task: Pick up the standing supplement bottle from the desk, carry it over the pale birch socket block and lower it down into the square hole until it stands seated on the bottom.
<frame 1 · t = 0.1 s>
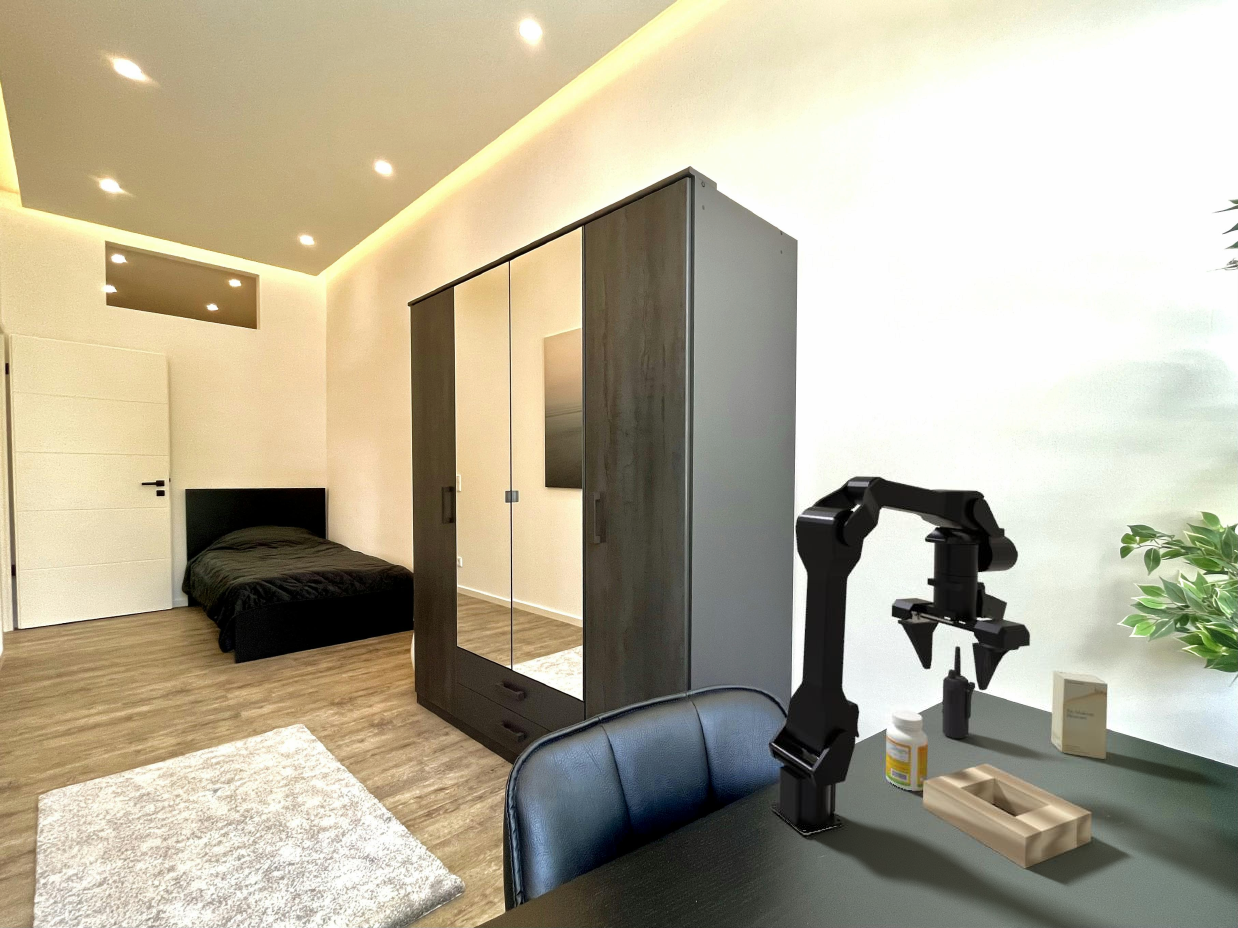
hand: (953, 678, 86), 14 cm above the table, tool pointing down, fingers open, 9 cm apart
two-way radio: (959, 736, 100), on the table
socket block: (1003, 823, 74), on the table
supplement bottle: (905, 783, 84), on the table
skincare box: (1078, 751, 96), on the table
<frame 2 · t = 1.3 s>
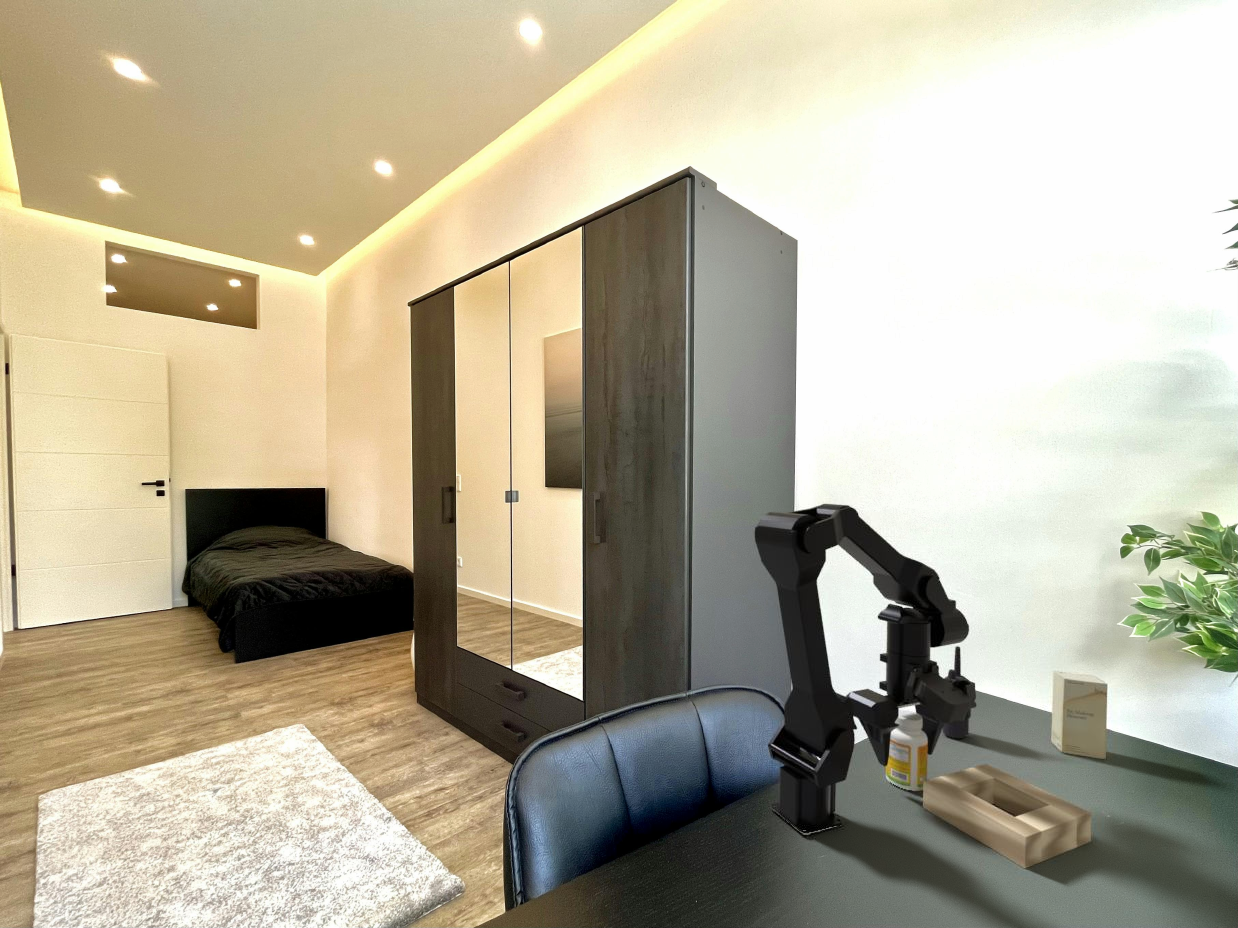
hand: (906, 759, 84), 3 cm above the table, tool pointing down, fingers open, 9 cm apart
nothing on the table moved.
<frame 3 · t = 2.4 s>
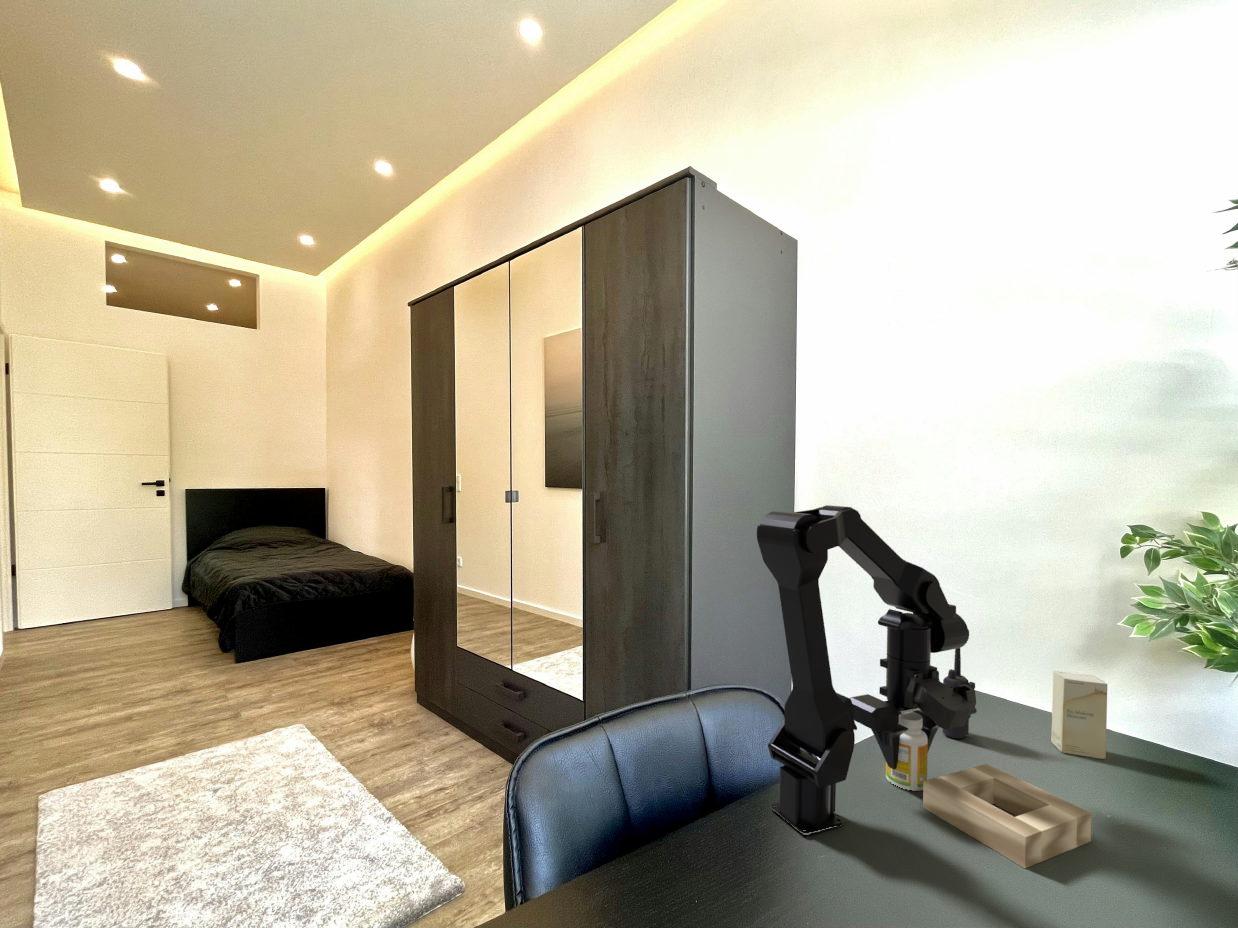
hand: (906, 764, 84), 3 cm above the table, tool pointing down, fingers closed on supplement bottle, 5 cm apart
supplement bottle: (905, 783, 84), on the table, touching gripper
everything else where it was.
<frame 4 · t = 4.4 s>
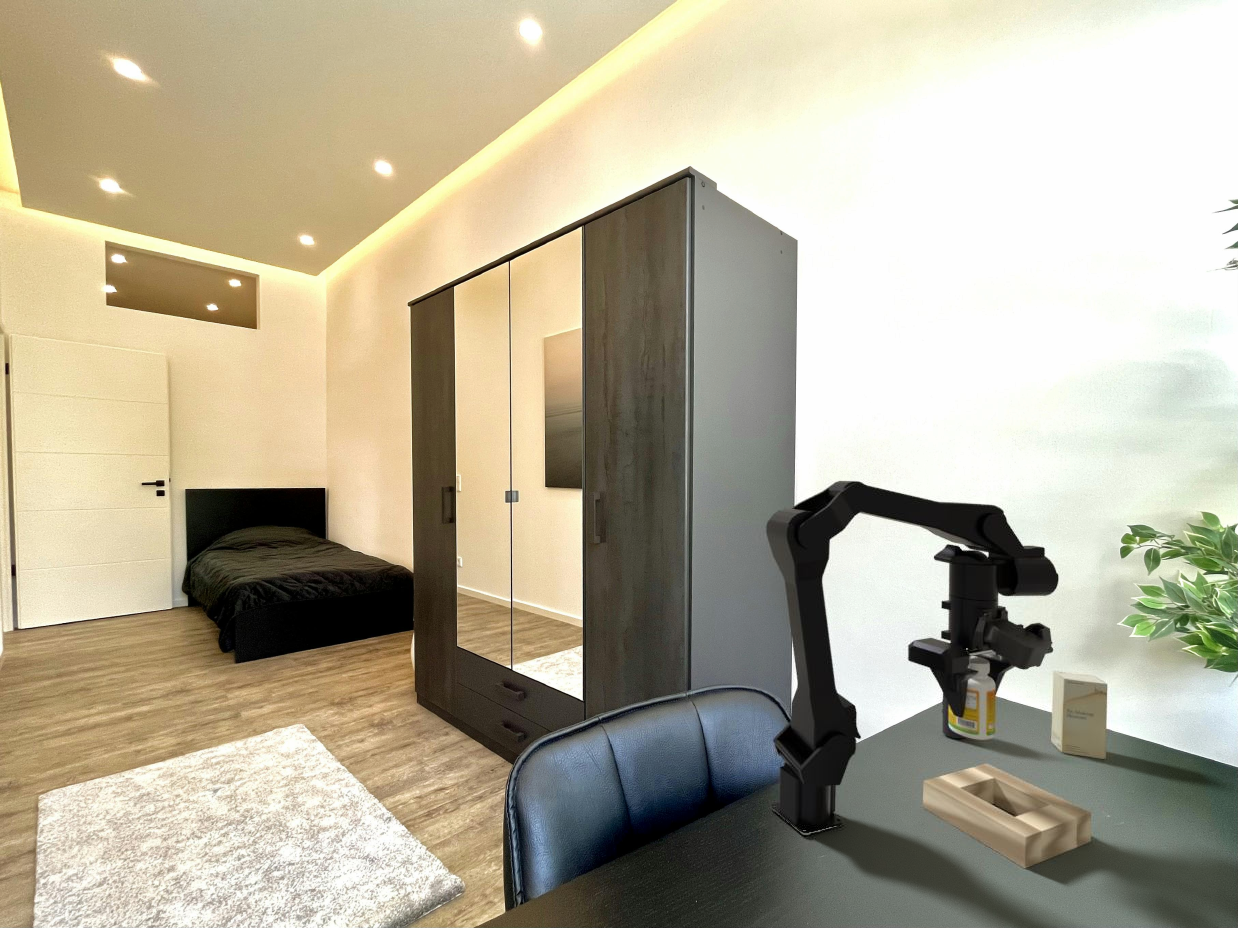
hand: (972, 712, 78), 13 cm above the table, tool pointing down, fingers closed on supplement bottle, 5 cm apart
supplement bottle: (971, 733, 78), point 10 cm above the table, touching gripper
everything else where it was.
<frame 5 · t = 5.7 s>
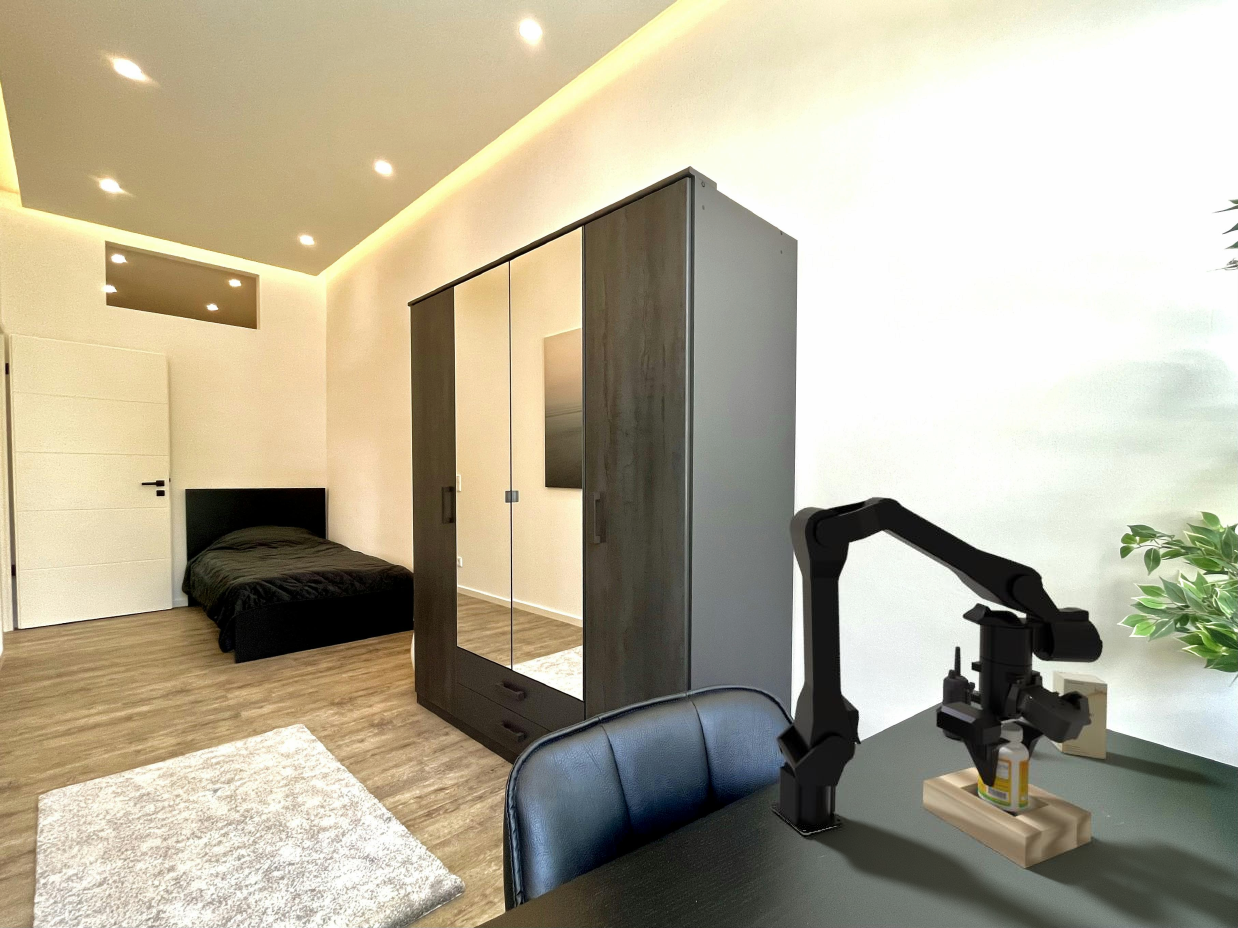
hand: (1002, 781, 75), 5 cm above the table, tool pointing down, fingers closed on supplement bottle, 5 cm apart
supplement bottle: (1002, 802, 74), point 3 cm above the table, touching gripper
everything else where it was.
when the fingers open (4 cm above the table, at t = 6.6 s): supplement bottle drops 2 cm, resting in socket block.
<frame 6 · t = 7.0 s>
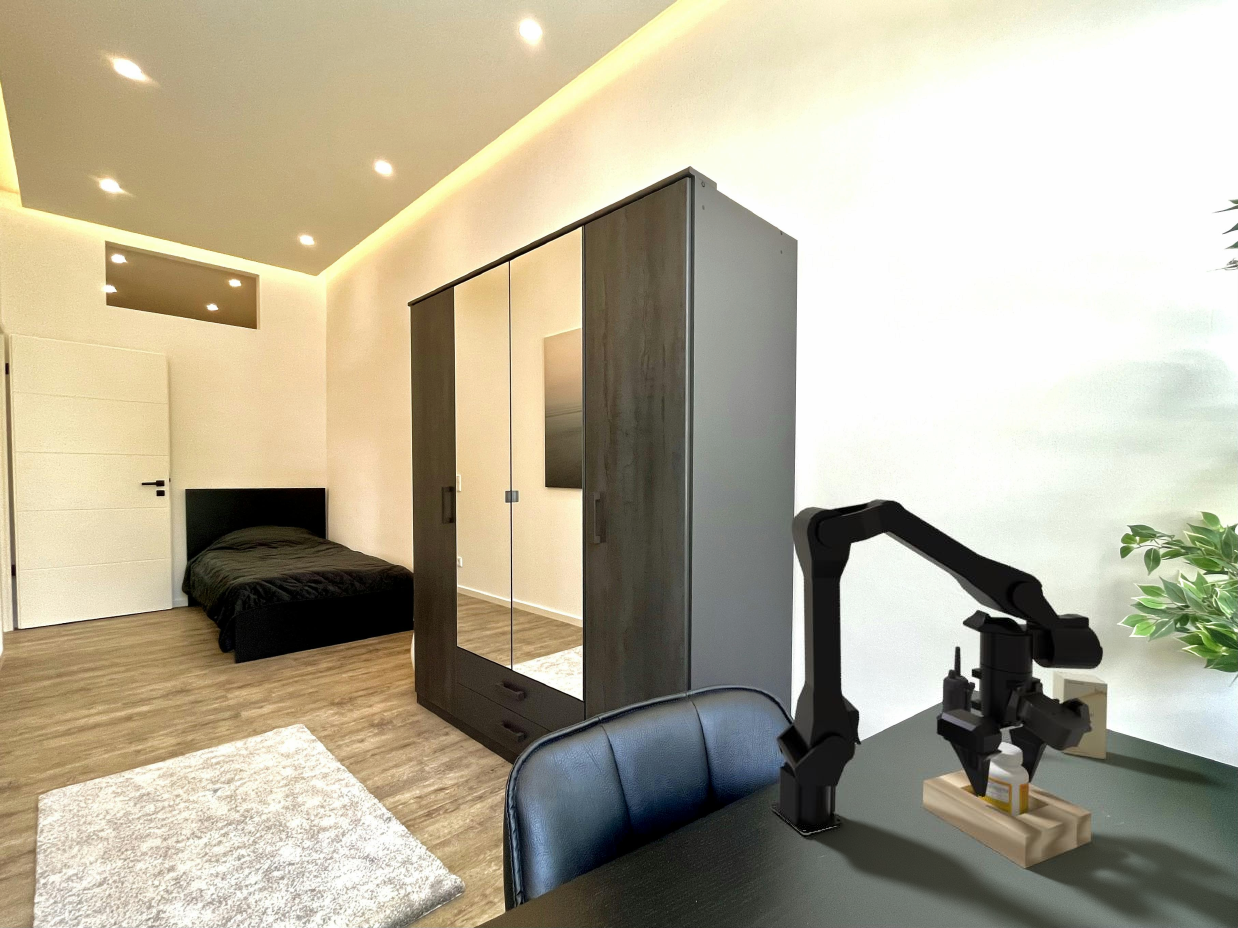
hand: (1003, 788, 74), 4 cm above the table, tool pointing down, fingers open, 9 cm apart
supplement bottle: (1002, 825, 74), resting in socket block
everything else where it was.
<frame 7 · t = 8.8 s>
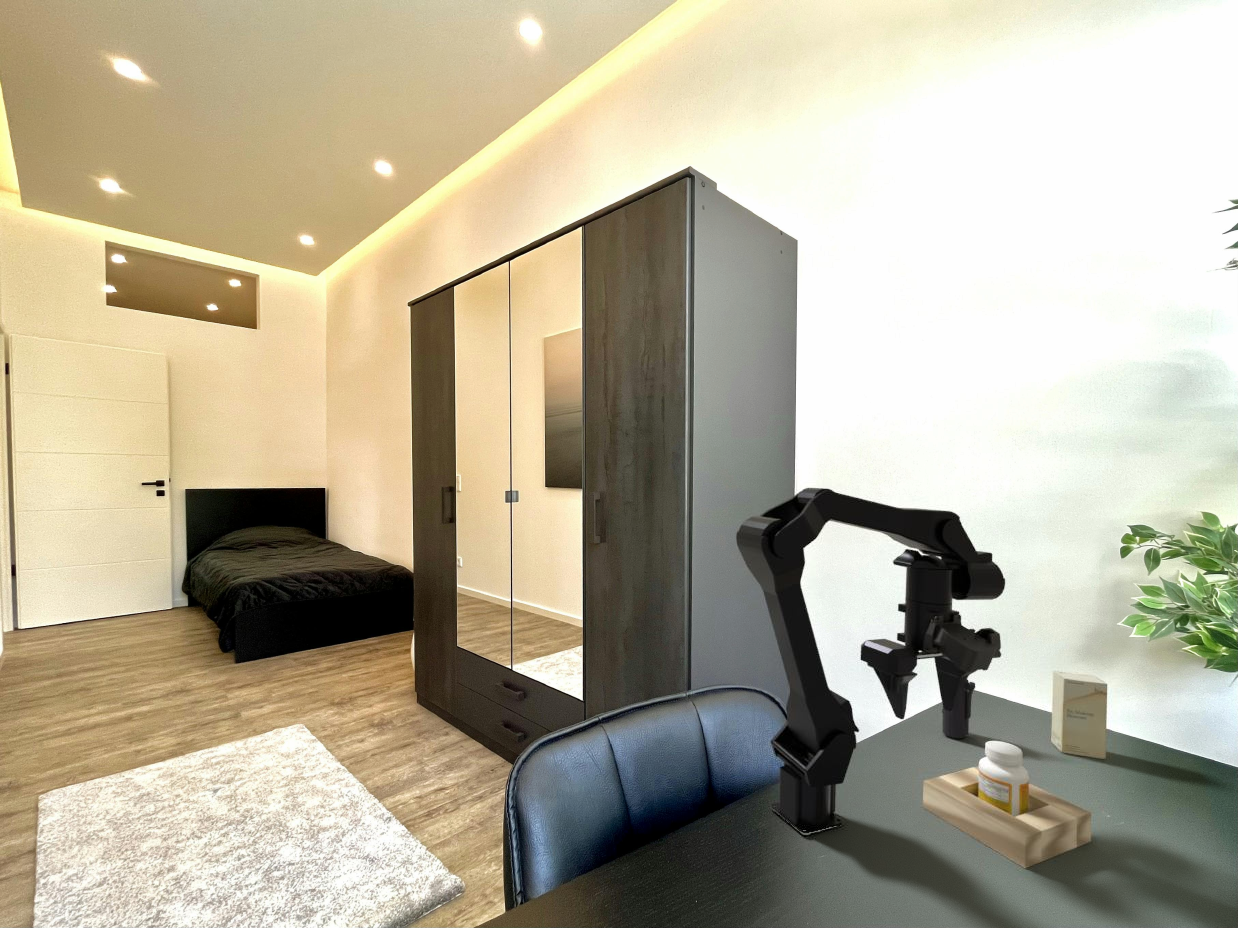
hand: (924, 714, 80), 12 cm above the table, tool pointing down, fingers open, 9 cm apart
nothing on the table moved.
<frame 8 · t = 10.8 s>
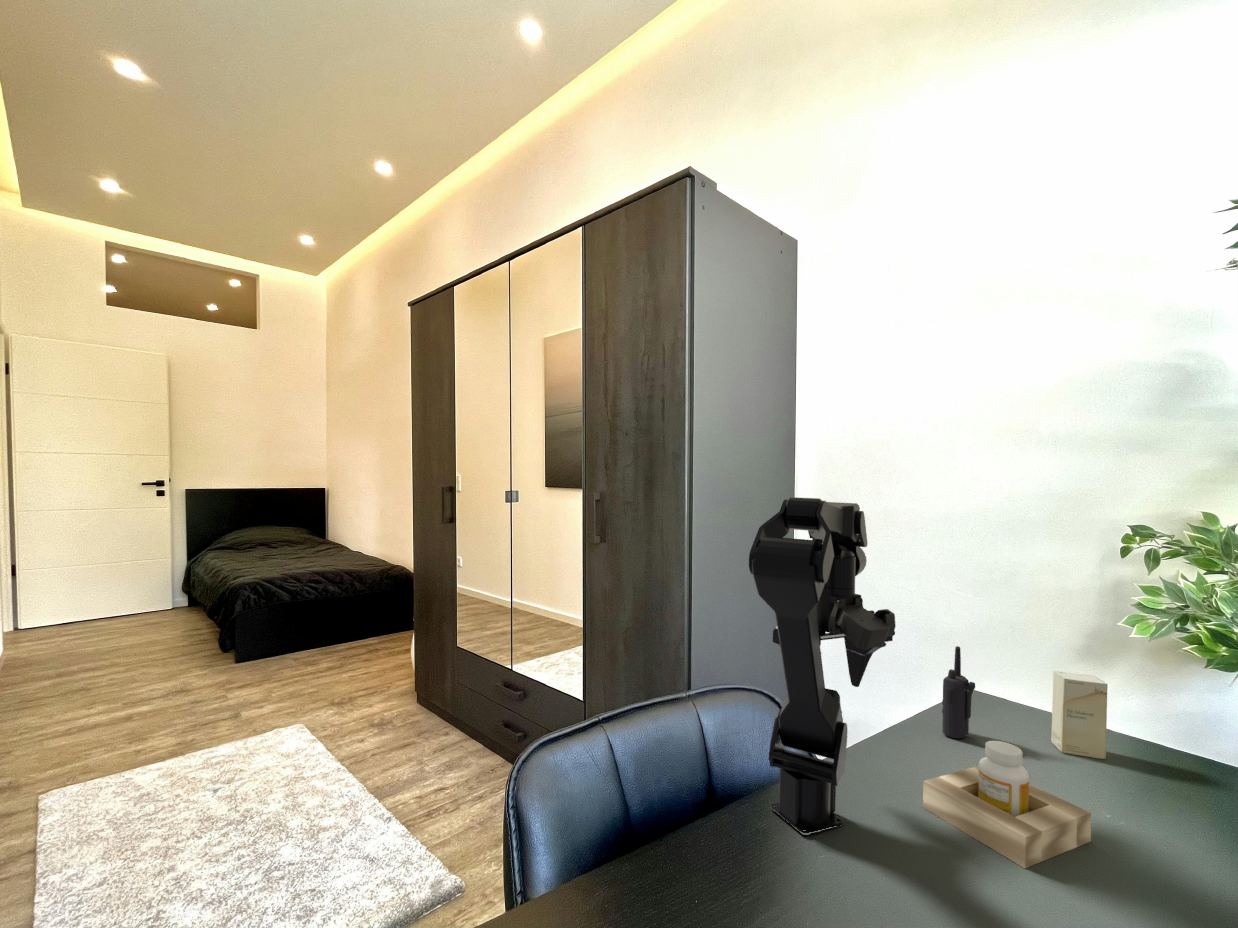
hand: (832, 689, 87), 12 cm above the table, tool pointing down, fingers open, 9 cm apart
nothing on the table moved.
at the end: supplement bottle 0.1 cm off-centre on the socket block, point 0.0 cm above the socket block's base; supplement bottle tilted 0°; the gripper is holding nothing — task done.
